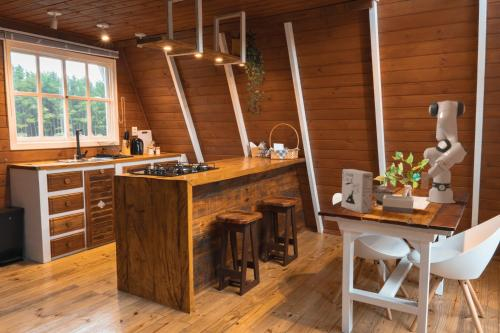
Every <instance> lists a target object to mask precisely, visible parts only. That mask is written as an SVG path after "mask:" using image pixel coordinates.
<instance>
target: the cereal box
mask: <svg viewBox="0 0 500 333" xmlns="http://www.w3.org/2000/svg"><path fill="white" fill-rule="evenodd" d="M373 176H374V172H371V171H364V170H361V169H360V170H359V169H355V168H347V169H346V168H343V169H342V177H341V178H342V179H341V180H342V181H341V182H342V183H341V207H342V208H344V209H348V210H350V211H352V212H356V213H360V214H370V213H372V201H373V200H372V199H373V198H372V197H373Z"/></svg>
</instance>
